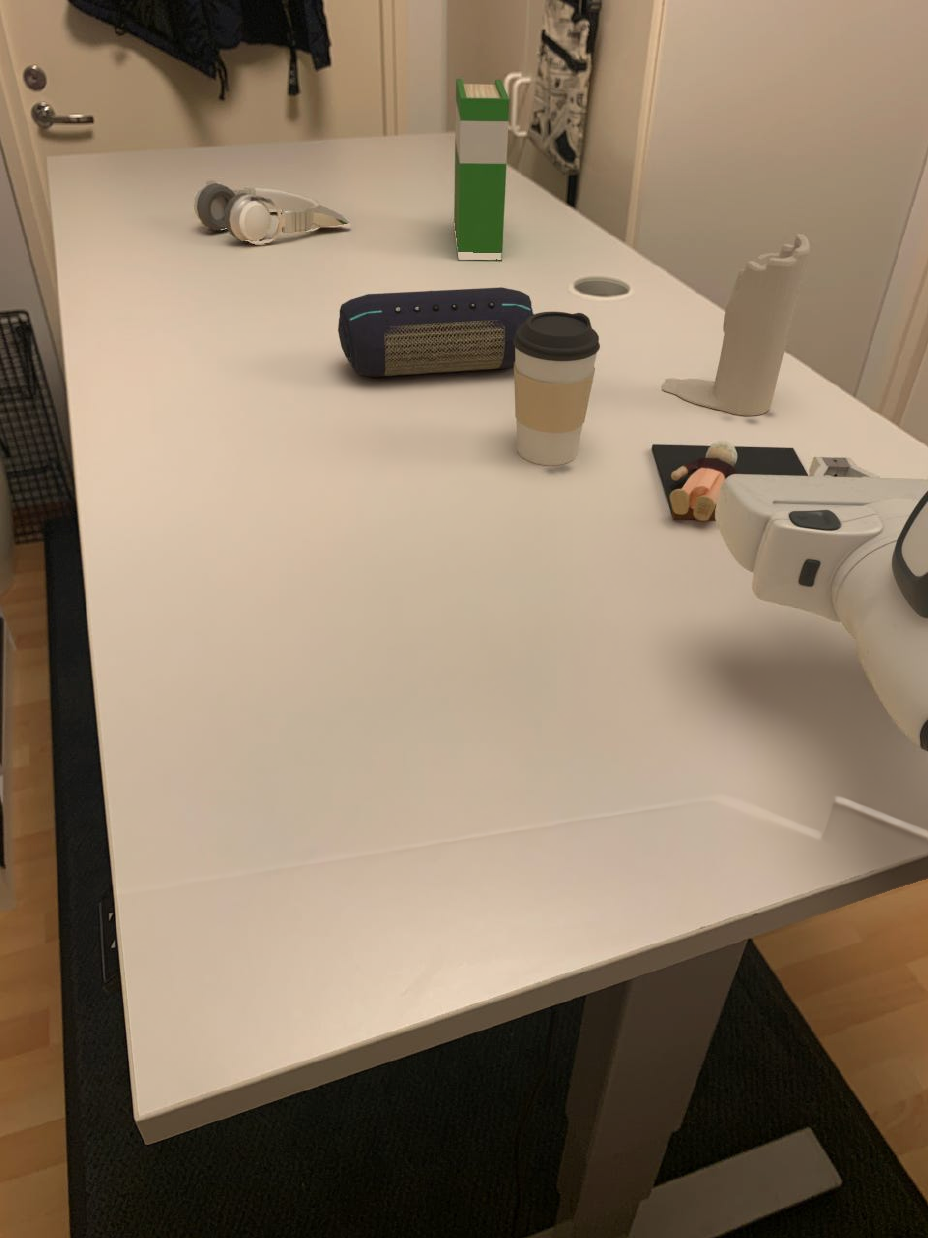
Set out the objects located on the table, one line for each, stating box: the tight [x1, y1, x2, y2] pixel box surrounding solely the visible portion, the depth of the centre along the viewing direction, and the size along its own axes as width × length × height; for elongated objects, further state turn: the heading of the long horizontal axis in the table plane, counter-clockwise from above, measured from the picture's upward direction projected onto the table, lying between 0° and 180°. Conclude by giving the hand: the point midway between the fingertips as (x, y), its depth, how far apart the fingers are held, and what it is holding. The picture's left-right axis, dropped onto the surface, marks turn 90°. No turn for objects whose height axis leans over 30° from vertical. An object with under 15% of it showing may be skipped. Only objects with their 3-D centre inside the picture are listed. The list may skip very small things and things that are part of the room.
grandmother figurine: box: [670, 440, 740, 522], centre depth 94 cm, size 8×4×13 cm
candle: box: [661, 233, 811, 417], centre depth 108 cm, size 7×14×20 cm, turn 60°
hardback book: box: [453, 78, 511, 262], centre depth 152 cm, size 18×7×24 cm, turn 3°
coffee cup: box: [513, 311, 601, 466], centre depth 98 cm, size 9×9×15 cm
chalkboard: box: [651, 443, 809, 521], centre depth 97 cm, size 16×15×1 cm
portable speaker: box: [337, 287, 535, 378], centre depth 116 cm, size 25×10×10 cm, turn 102°
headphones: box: [193, 179, 350, 246], centre depth 163 cm, size 22×8×22 cm
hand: (828, 464), depth 73 cm, fingers closed
